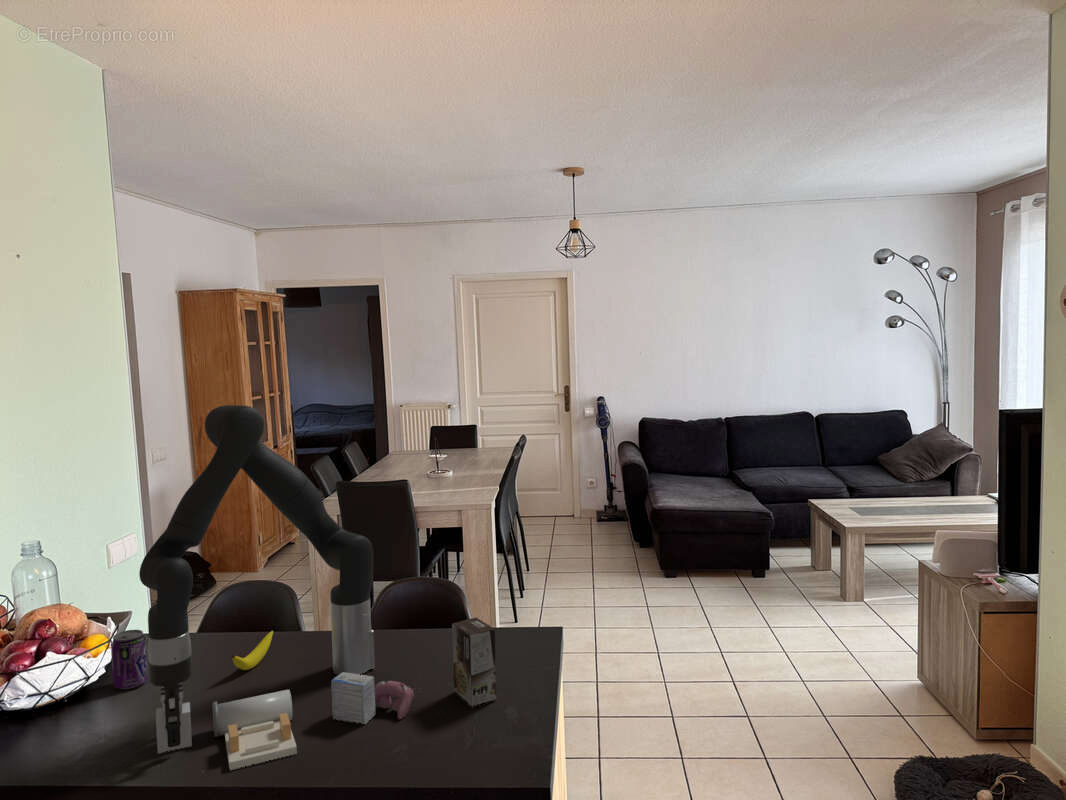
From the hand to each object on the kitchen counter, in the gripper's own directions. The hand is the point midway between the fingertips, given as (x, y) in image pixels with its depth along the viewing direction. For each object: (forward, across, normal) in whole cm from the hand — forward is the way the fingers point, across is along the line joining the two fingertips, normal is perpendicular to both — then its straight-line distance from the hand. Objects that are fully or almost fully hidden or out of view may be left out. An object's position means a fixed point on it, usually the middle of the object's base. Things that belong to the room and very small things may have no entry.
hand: (174, 735), depth 147 cm
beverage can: (+2, +34, +9) cm, 35 cm away
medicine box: (+2, -6, -34) cm, 35 cm away
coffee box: (+2, -9, -60) cm, 61 cm away
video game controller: (+2, -6, -42) cm, 42 cm away
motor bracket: (+2, -6, -15) cm, 16 cm away
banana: (+2, +32, -18) cm, 37 cm away
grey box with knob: (+2, 0, 0) cm, 2 cm away
